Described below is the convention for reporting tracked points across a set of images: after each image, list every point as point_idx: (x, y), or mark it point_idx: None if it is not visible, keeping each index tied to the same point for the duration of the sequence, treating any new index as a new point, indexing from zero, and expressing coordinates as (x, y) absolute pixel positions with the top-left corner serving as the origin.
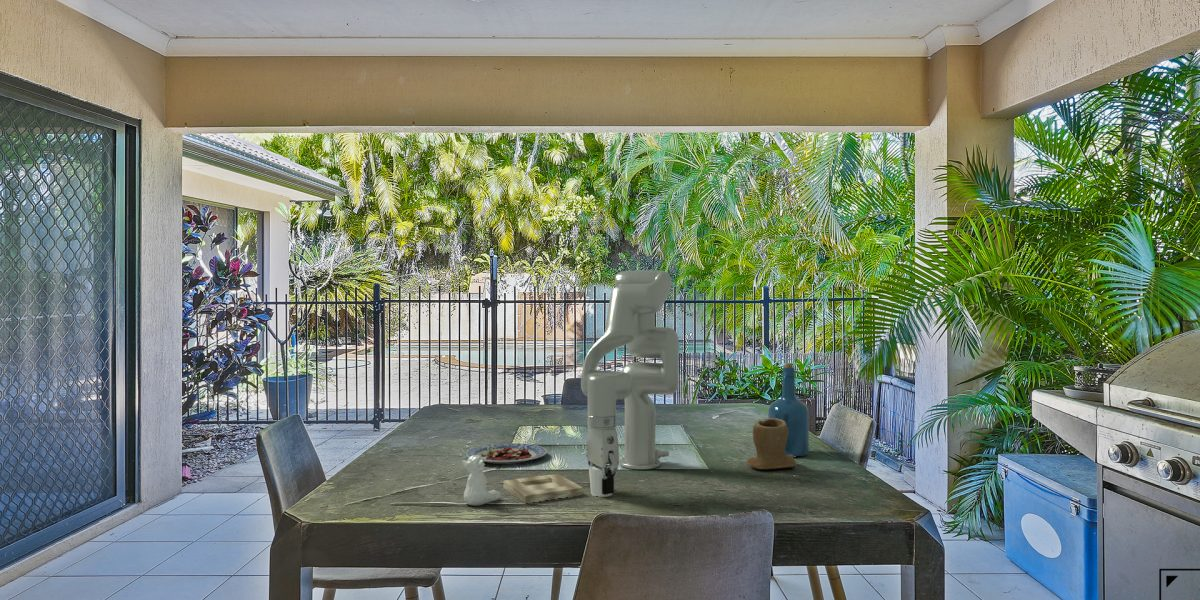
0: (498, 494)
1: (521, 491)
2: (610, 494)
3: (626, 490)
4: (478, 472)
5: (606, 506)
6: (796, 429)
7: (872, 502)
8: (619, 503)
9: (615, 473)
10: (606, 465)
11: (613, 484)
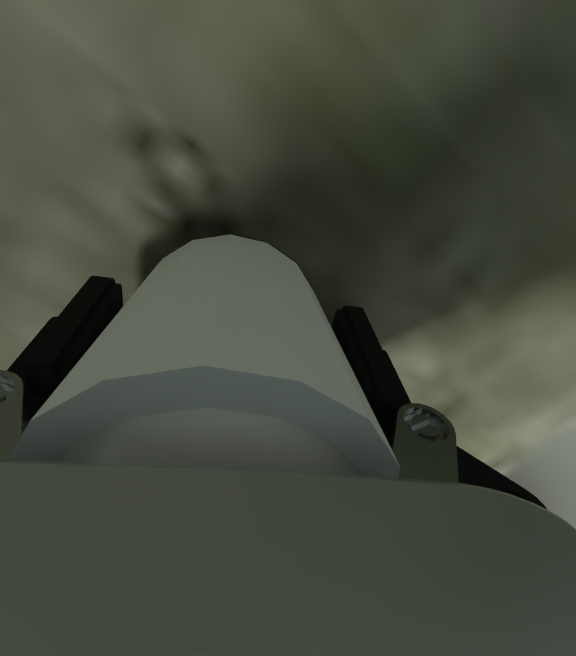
0: None
1: None
2: (316, 297)
3: (267, 39)
4: None
5: (462, 422)
6: None
7: None
8: (490, 342)
9: (528, 493)
10: (118, 423)
11: (380, 350)
